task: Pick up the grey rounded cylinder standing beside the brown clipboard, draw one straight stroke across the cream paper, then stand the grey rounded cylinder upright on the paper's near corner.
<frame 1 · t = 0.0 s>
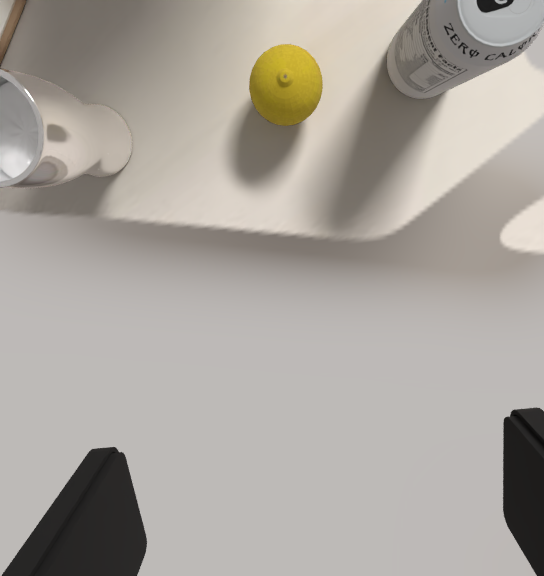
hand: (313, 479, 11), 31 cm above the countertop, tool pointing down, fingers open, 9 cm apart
lemon: (286, 94, 38), on the countertop
energy drink can: (420, 61, 36), on the countertop
beer glass: (99, 141, 39), on the countertop
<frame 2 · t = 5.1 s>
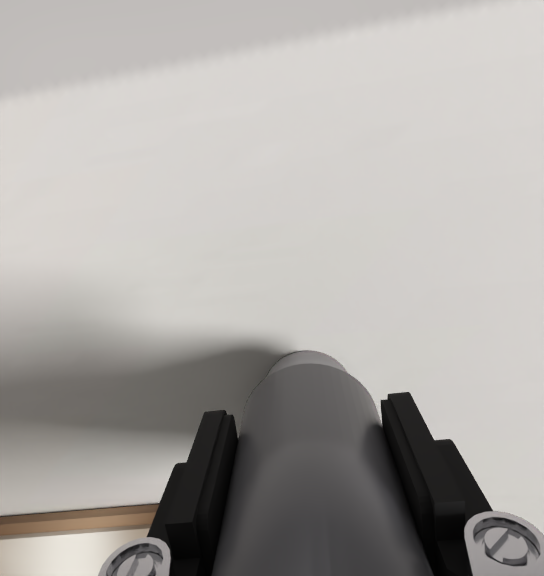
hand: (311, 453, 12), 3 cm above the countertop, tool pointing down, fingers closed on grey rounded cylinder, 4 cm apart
grey rounded cylinder: (307, 391, 15), on the countertop, touching gripper
when the fingers open (5 cm above the countertop, at t = 14.7 s): grey rounded cylinder stays where it is, resting on clipboard.
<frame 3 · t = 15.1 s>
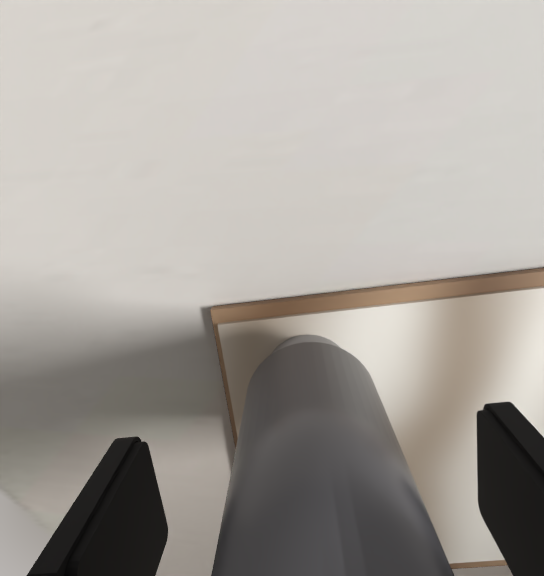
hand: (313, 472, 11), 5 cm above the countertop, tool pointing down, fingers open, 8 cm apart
clipboard: (448, 433, 17), on the countertop
grey rounded cylinder: (308, 374, 15), point 1 cm above the countertop, touching clipboard
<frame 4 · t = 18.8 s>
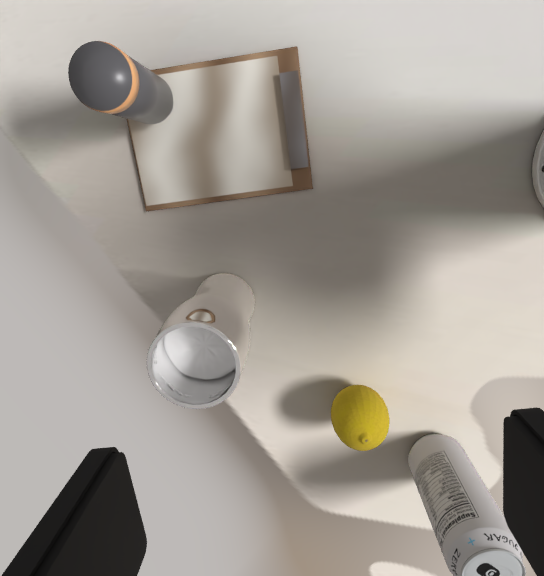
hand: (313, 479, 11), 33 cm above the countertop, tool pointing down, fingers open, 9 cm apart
clipboard: (218, 133, 40), on the countertop
lemon: (353, 394, 47), on the countertop
grey rounded cylinder: (156, 102, 39), point 1 cm above the countertop, touching clipboard
energy drink can: (433, 452, 49), on the countertop
beer glass: (225, 301, 45), on the countertop
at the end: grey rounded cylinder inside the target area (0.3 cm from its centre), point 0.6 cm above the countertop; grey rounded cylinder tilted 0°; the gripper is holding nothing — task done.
